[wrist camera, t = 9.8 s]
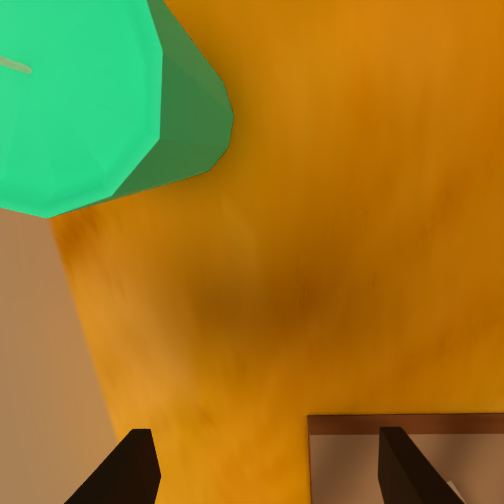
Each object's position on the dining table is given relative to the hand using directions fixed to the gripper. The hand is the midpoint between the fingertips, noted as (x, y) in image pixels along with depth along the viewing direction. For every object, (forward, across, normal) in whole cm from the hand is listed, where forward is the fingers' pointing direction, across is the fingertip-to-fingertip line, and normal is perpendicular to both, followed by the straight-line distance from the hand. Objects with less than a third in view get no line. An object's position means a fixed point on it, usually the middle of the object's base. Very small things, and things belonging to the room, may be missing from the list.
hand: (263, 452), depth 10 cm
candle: (+10, +4, -11) cm, 15 cm away
